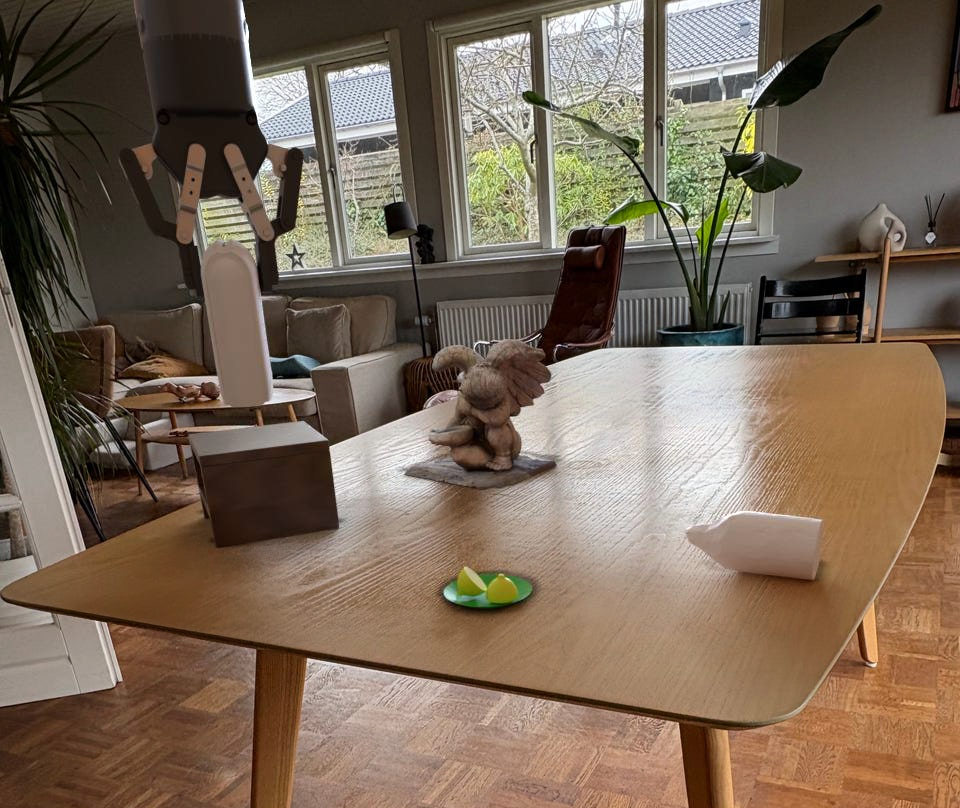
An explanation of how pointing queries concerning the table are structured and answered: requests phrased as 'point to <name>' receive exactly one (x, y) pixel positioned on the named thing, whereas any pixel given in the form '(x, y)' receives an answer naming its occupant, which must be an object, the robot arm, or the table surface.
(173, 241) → the robot arm
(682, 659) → the table surface
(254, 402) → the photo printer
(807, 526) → the white plastic bottle
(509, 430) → the cherub figurine
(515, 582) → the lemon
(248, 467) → the box
